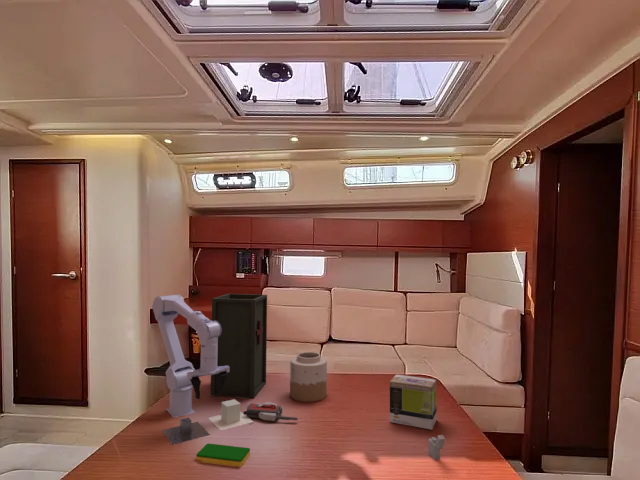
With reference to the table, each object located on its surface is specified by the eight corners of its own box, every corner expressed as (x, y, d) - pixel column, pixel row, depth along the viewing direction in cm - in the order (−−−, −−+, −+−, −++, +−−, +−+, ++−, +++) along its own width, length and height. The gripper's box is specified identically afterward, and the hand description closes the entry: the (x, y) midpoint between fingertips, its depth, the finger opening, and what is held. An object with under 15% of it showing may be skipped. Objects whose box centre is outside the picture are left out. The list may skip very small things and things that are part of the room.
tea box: (437, 419, 147) (437, 378, 147) (432, 431, 138) (432, 387, 138) (395, 412, 153) (396, 372, 153) (388, 422, 144) (389, 380, 144)
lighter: (428, 453, 123) (428, 426, 123) (433, 452, 123) (433, 425, 123) (439, 465, 116) (439, 437, 116) (445, 464, 116) (445, 436, 116)
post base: (161, 431, 135) (162, 418, 135) (197, 423, 142) (197, 410, 142) (172, 446, 125) (172, 431, 125) (209, 436, 132) (210, 422, 132)
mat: (207, 419, 145) (207, 417, 145) (239, 411, 152) (239, 410, 152) (220, 432, 135) (220, 430, 135) (253, 423, 142) (253, 421, 142)
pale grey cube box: (221, 419, 144) (221, 402, 144) (234, 415, 147) (234, 399, 147) (226, 424, 140) (226, 406, 140) (240, 420, 143) (240, 403, 143)
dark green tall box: (226, 381, 186) (228, 293, 187) (266, 383, 183) (267, 294, 184) (210, 395, 168) (212, 298, 168) (253, 398, 165) (255, 299, 166)
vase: (333, 393, 172) (333, 353, 172) (313, 405, 159) (314, 362, 160) (303, 386, 180) (304, 348, 181) (282, 397, 167) (283, 356, 168)
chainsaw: (241, 419, 144) (297, 424, 142) (241, 406, 144) (297, 411, 142) (247, 410, 152) (300, 415, 150) (248, 398, 153) (301, 402, 151)
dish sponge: (241, 468, 114) (241, 460, 114) (195, 463, 117) (195, 454, 117) (250, 456, 121) (250, 447, 121) (207, 450, 124) (207, 442, 124)
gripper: (192, 362, 135) (191, 404, 135) (233, 356, 143) (232, 395, 143) (185, 357, 141) (184, 397, 140) (225, 352, 149) (224, 389, 149)
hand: (208, 395), depth 142 cm, fingers open, 7 cm apart
